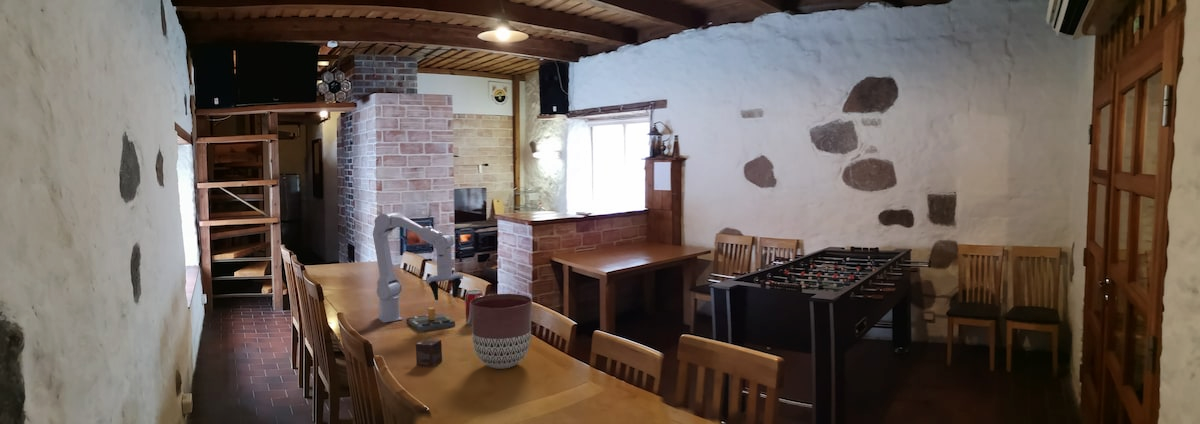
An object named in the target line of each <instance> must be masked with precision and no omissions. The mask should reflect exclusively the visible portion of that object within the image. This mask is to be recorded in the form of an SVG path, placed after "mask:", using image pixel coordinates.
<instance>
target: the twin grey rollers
mask: <svg viewBox="0 0 1200 424" xmlns="http://www.w3.org/2000/svg"><path fill="white" fill-rule="evenodd" d="M435 315H438V313H435ZM425 316H428V314H426V315H420V316H419V315H418V316H413V317H407V318H406V322H407V323H409V322H408V319H412V318H418V317H425Z"/></svg>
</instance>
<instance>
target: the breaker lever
mask: <svg viewBox="0 0 1200 424" xmlns="http://www.w3.org/2000/svg"><path fill="white" fill-rule="evenodd" d="M435 314H436V309H435V307H432V306H431V307H427V315H428V319H429V320H435Z"/></svg>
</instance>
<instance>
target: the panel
mask: <svg viewBox="0 0 1200 424" xmlns="http://www.w3.org/2000/svg"><path fill="white" fill-rule="evenodd" d="M424 316H425V317H419V316H417V317H418V318H413V317H411V318H412V319H408V322H407V323H408V325H409V326H411V327H412V328H413V329H415V330H417V331H418V332H419V333H422V332H429V331H434V330H441V329H442V330H443V329H447V328H454V327H455V326H456V321H455V320H453V319H452V318H451V317H449V316H446V315H445V314H443V313H439V314H438V313H437V315H435V320H429V319H428V316H426V315H424Z"/></svg>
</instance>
